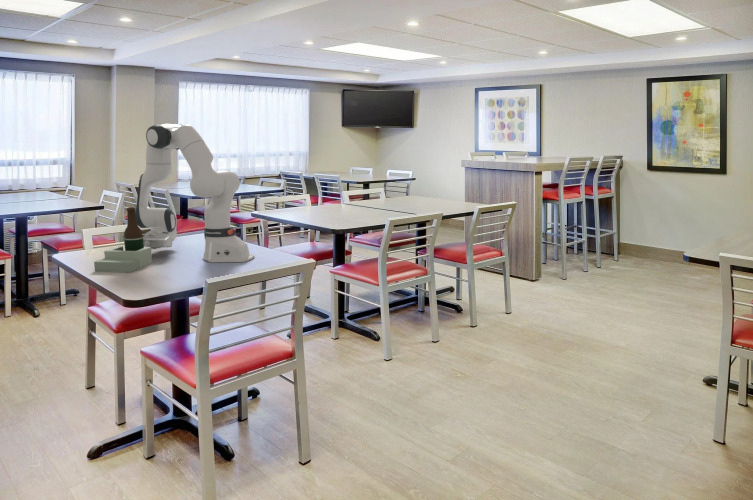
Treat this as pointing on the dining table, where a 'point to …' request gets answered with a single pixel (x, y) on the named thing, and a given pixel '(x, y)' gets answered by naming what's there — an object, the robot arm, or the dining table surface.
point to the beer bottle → (133, 232)
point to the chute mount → (123, 260)
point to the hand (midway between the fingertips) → (138, 244)
